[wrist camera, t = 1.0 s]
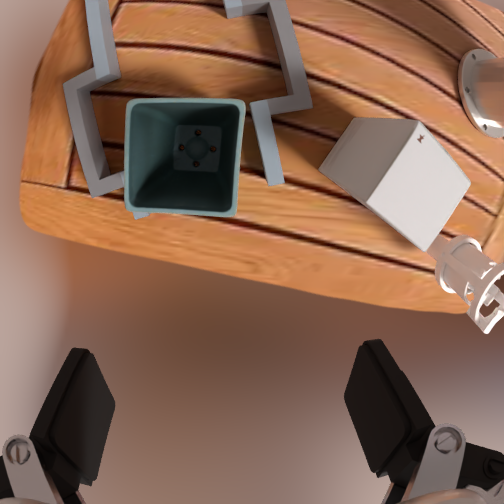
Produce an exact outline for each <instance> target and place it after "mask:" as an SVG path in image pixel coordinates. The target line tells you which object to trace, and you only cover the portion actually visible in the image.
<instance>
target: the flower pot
mask: <svg viewBox="0 0 504 504" xmlns="http://www.w3.org/2000/svg"><path fill="white" fill-rule="evenodd" d="M245 110H246V106H245V103H244V101H242V100H240V99H230V98H227V99H225V98H138V99H132V100H130V101H128V103H127V105H126V118H125V142H124V202H125V208H126V209H127V210H128V211H131V212H146V213H172V214H173V213H175V214H189V215H205V216H217V217H232V216H234V215H235V214H236V212H237V199H238V183H239V169H240V158H241V146H242V136H243V127H244V118H245V112H246V111H245ZM197 130H200V131H201V134H200V135H197V134H196V131H197ZM181 145H183V146H184V150H180V146H181ZM213 146H214V147H215V148H216V150H215V151H214V152H213V151H211V147H213ZM195 161H198V162H199V165H198V166H195V165H194V162H195Z"/></svg>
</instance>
